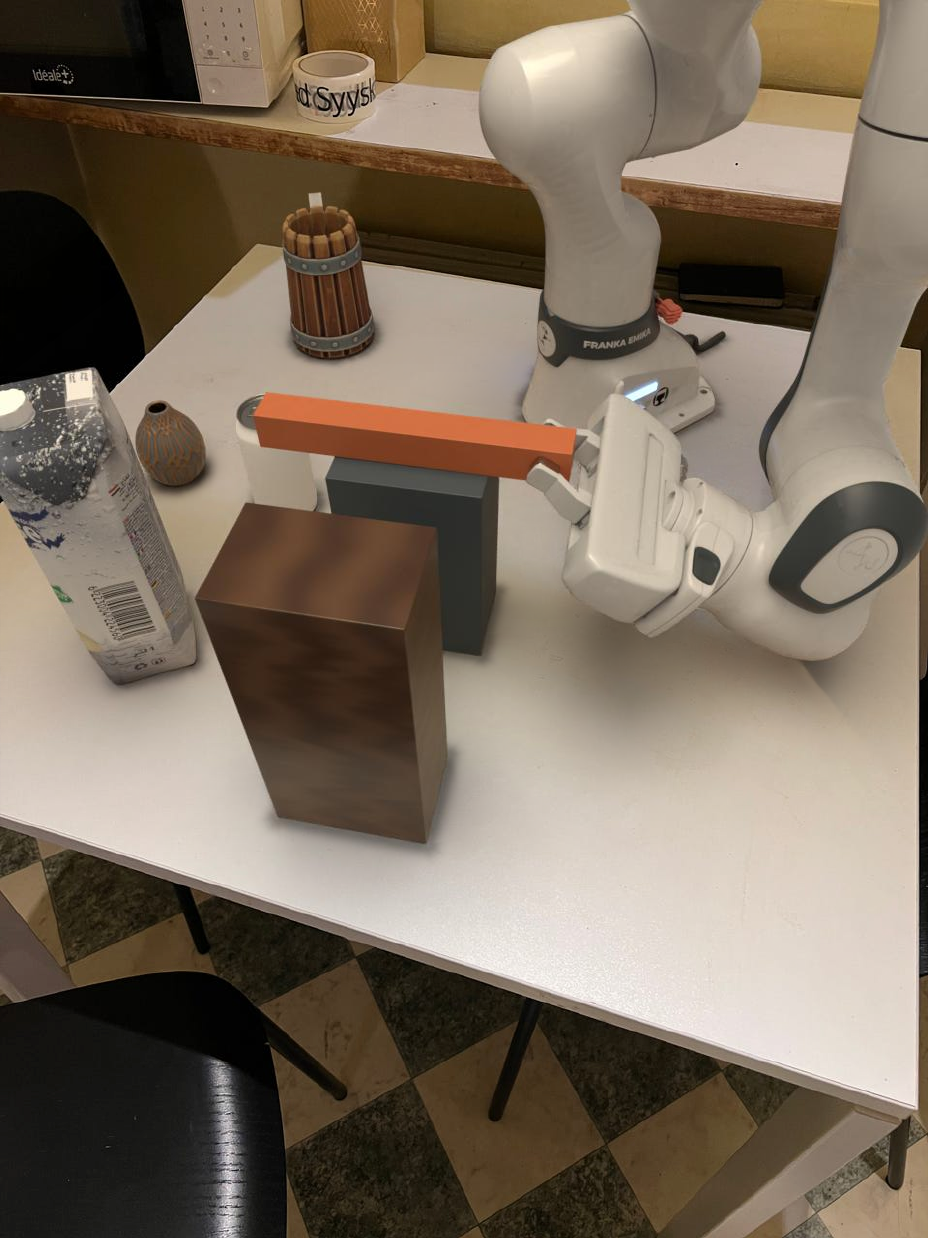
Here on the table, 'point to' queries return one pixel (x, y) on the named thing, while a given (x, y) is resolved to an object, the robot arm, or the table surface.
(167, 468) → the vase
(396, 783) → the tall stand
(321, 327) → the mug
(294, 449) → the rod
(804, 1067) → the table surface
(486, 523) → the lower stand
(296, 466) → the can
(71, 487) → the juice carton
